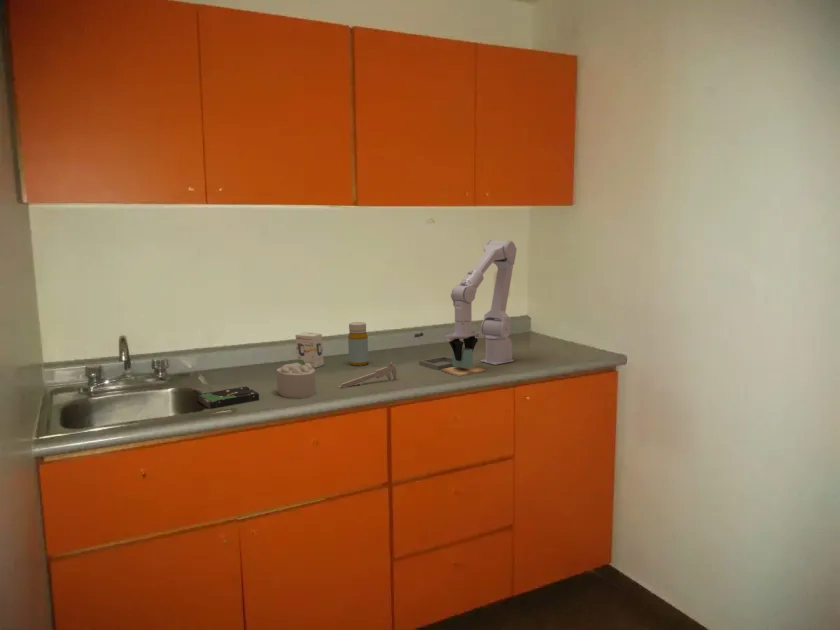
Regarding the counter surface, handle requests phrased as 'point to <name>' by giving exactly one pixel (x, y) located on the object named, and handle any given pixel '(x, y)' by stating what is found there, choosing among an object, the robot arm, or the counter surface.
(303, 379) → the cup of cotton balls
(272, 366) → the counter surface
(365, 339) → the bottle
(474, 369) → the board
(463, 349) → the block
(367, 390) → the counter surface
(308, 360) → the ink box
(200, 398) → the disk drive
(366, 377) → the caliper
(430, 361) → the grey flat square frame
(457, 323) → the robot arm
